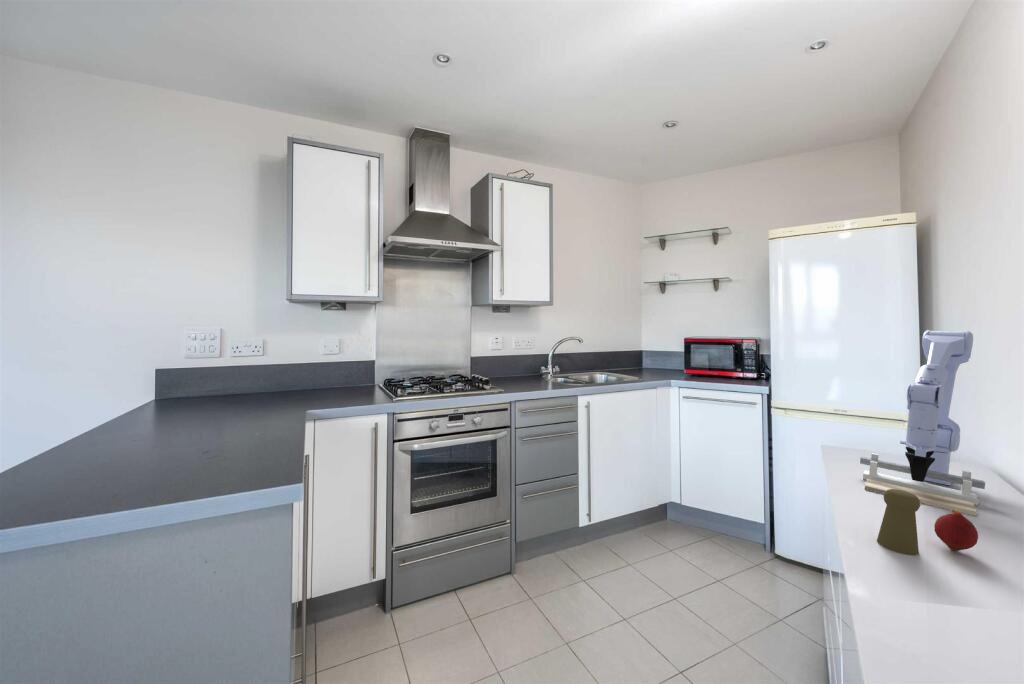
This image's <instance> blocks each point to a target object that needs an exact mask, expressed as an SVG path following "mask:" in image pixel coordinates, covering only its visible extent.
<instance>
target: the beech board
mask: <svg viewBox="0 0 1024 684" xmlns="http://www.w3.org/2000/svg"><path fill="white" fill-rule="evenodd" d="M889 489H898V490H903V491H907V492H910V493H912V494H914V495H916V496H917V497H918V499H919V500H920V504H923V503H924V505H927V506H928V505H929V506H933V507H937V508H939V509H940V508H941V509H946V510H948V511H949V510H950V511H952V510H954V509H955V510H958V511H959V512H960V513H961V514H966V515H971V516H974V517H977V513H978V512H977V509H976V506H975V505H974V504H973V502H970V501H965V500H961V499H956V498H952V497H947V496H943V495H938V494H934V493H929V492H925V491H920V490H916V489H912V488H907V487H903V486H898V485H894V484H889V483H885V482H880V481H876V480H871V479H867V480H865V484H864V490H866V491H870V492H874V493H878V494H882V495H884V493H885V492H886V491H887V490H889Z"/></svg>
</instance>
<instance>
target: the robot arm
mask: <svg viewBox="0 0 1024 684" xmlns="http://www.w3.org/2000/svg"><path fill="white" fill-rule="evenodd" d="M973 345H974V335H973V333H972V332H971V331H969V330H968V331H954V330H953V331H951V330H950V331H949V330H948V331H947V330H946V331H945V330H930V329H926V330H925V331H924V333H923V335H922V340H921V346H922V350H923V354H924V356H925V359H926V360H927V362H926V364H923V365H922V366H920V367H919V370H918V372H917V374H916V377H915V380H914V382H913V384H909V385H908V387H907V390H906V391H907V392H906V400H907V406H906V408H907V410H908V415H907V428H906V437H905V440H902V439H901V440H900V441H899V443H900V444H901V445H905V449H906V451H905V452H904V455H905V456H906V459H907V461H908V463H909V466H910V470H911V474H910V478H911V480H913V481H918V482H922V483H924V481H925V482H931V483H935V484H941V485H946V486H951V483H952V482H947V481H942V480H937V479H933V478H928V477H926V474H927V471H928V470H931V471H936V472H941V473H946V474H950V473H949V472H950V462H951V461H950V460H951V455H952V454H951V453H955V452H956V451H958V449H959V447H960V442H961V427H960V425H959V424H958V423H957V422H955V421H954V420H953V419H951V418H950V410H951V405H952V404H951V403H952V398H953V393H954V387H955V381H956V375H957V372H958V370H959V367H960V366H961V365H962V364H965V363H968V362H969V360H970V359H971V355H972V349H973Z"/></svg>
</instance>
